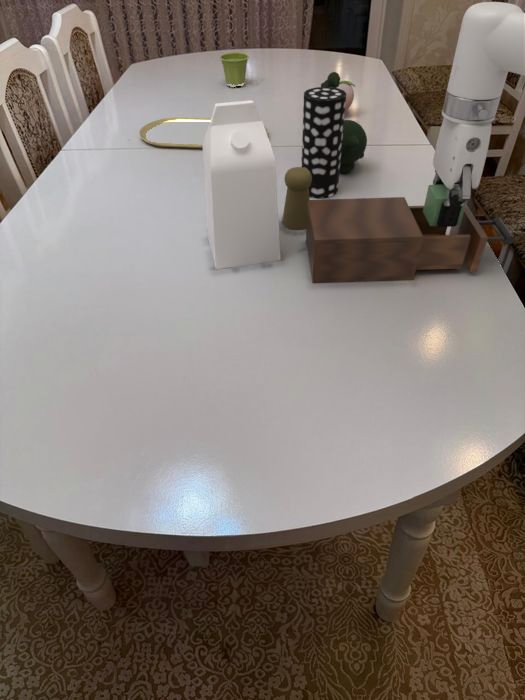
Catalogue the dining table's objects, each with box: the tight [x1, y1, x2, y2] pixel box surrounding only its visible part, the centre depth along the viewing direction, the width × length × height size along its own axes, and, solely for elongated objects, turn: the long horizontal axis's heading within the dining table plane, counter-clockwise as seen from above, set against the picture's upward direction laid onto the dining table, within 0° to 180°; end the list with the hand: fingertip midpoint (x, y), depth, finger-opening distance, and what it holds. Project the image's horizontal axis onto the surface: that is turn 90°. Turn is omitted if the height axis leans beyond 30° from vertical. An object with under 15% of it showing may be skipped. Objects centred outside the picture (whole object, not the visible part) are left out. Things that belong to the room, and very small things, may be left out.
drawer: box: [408, 204, 516, 273], centre depth 88 cm, size 23×12×7 cm, turn 91°
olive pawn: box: [281, 166, 312, 231], centre depth 97 cm, size 6×6×11 cm
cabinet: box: [305, 196, 423, 284], centre depth 88 cm, size 18×14×9 cm
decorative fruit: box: [337, 80, 356, 112], centre depth 141 cm, size 9×8×10 cm
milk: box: [202, 99, 281, 270], centre depth 86 cm, size 12×12×26 cm
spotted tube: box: [300, 86, 346, 199], centre depth 104 cm, size 8×8×20 cm
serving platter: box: [138, 116, 269, 149], centre depth 134 cm, size 19×35×2 cm, turn 82°
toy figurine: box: [320, 71, 368, 174], centre depth 116 cm, size 9×19×25 cm
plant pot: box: [219, 52, 250, 89], centre depth 164 cm, size 9×9×9 cm
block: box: [423, 183, 467, 226], centre depth 84 cm, size 5×5×5 cm
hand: (441, 216), depth 85 cm, fingers closed on block, 5 cm apart
